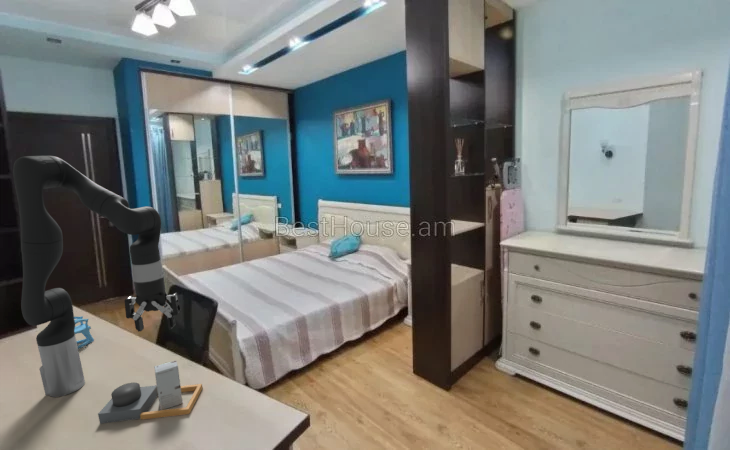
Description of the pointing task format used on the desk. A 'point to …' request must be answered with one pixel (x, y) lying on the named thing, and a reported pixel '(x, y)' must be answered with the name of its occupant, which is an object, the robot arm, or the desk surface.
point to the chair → (83, 331)
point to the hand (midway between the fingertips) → (156, 329)
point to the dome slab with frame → (141, 403)
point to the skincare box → (168, 385)
